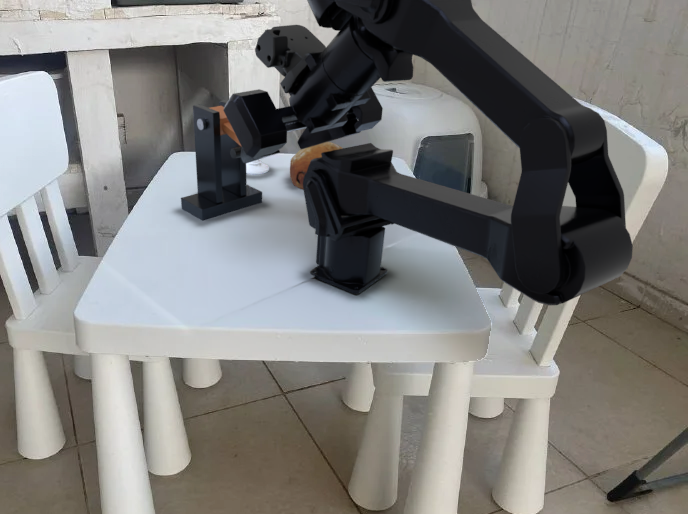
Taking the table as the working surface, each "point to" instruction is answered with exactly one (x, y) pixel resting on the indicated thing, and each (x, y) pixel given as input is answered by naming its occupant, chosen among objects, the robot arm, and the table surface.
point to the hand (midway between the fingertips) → (272, 152)
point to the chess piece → (256, 167)
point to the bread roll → (307, 161)
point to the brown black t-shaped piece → (228, 131)
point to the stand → (217, 170)
